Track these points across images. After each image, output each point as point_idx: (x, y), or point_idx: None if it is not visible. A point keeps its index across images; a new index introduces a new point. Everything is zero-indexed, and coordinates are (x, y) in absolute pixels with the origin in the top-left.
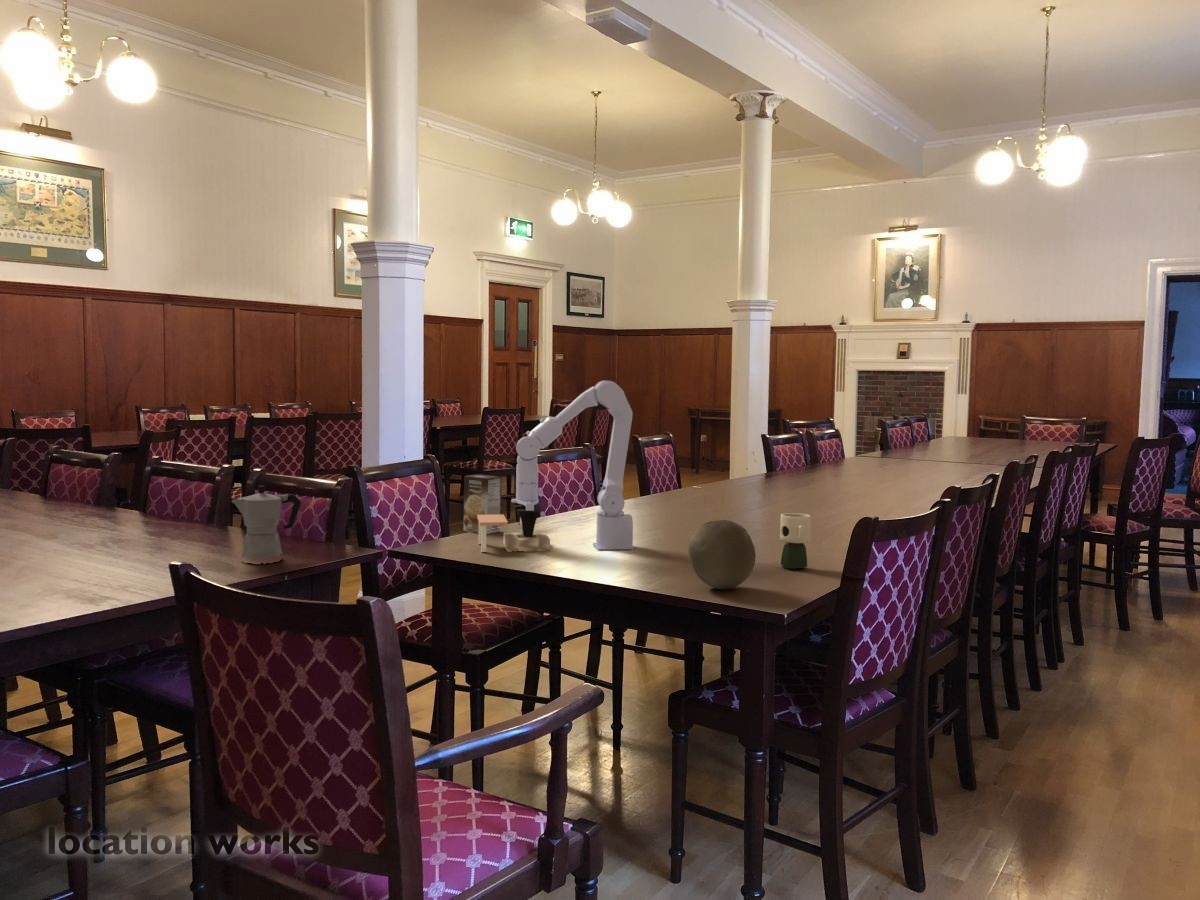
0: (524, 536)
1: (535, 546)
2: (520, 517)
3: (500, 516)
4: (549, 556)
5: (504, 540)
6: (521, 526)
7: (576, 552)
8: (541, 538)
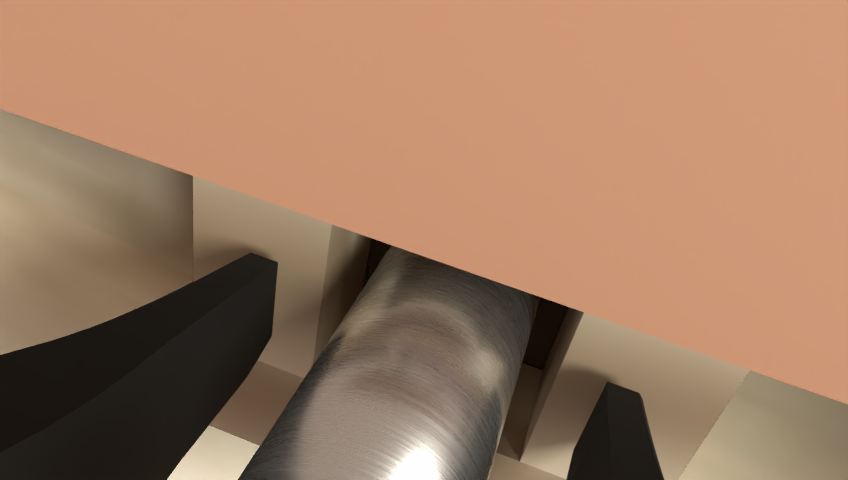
0: (245, 255)
1: None
2: (47, 388)
3: (748, 262)
4: (49, 241)
5: None
6: (343, 360)
7: (185, 454)
8: (258, 390)
